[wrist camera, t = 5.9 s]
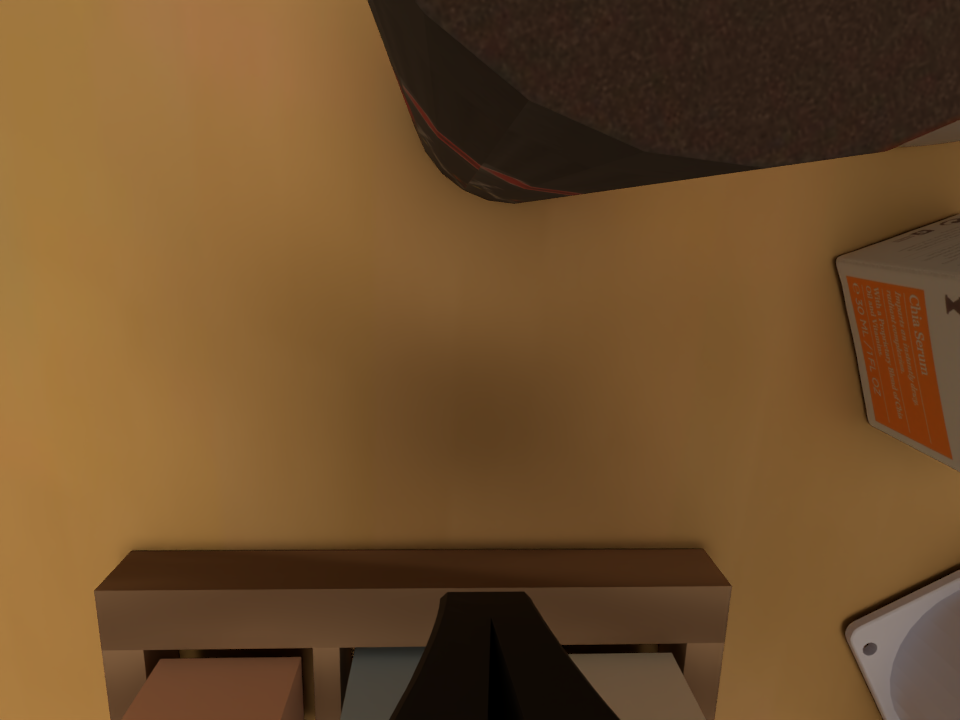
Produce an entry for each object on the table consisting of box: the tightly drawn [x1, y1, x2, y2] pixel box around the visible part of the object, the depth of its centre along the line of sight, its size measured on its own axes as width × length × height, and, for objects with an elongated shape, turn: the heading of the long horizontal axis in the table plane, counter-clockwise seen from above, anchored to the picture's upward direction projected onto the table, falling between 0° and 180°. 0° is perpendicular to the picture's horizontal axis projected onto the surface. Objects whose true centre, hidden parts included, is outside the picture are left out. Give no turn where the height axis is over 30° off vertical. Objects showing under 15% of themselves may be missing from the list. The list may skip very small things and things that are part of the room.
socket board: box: [94, 549, 732, 720], centre depth 21 cm, size 9×19×2 cm, turn 88°
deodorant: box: [368, 0, 960, 204], centre depth 11 cm, size 6×6×15 cm
